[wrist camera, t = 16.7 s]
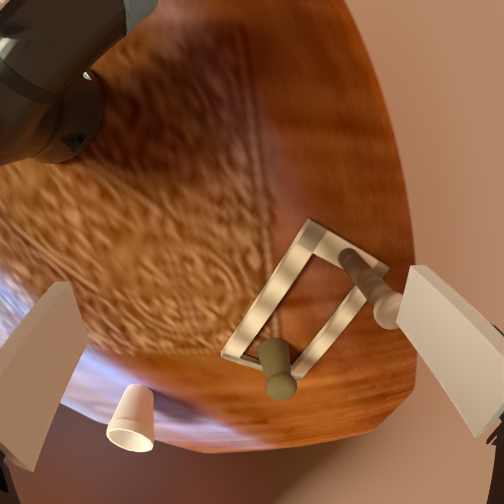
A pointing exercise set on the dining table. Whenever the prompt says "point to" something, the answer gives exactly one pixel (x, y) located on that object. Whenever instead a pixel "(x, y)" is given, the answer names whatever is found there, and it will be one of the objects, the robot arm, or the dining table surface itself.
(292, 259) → the joystick on frame
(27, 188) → the dining table surface
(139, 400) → the foam cup
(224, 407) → the dining table surface
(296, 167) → the dining table surface
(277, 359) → the cork
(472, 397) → the robot arm
